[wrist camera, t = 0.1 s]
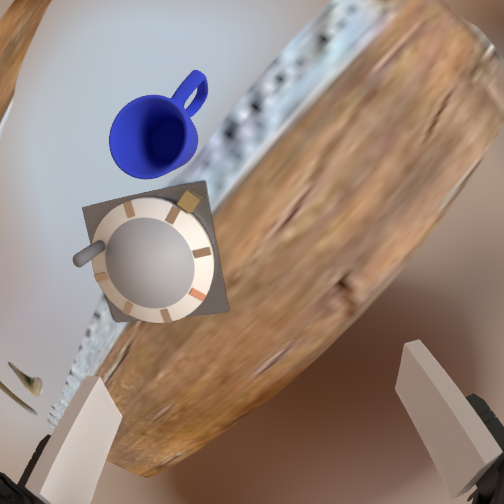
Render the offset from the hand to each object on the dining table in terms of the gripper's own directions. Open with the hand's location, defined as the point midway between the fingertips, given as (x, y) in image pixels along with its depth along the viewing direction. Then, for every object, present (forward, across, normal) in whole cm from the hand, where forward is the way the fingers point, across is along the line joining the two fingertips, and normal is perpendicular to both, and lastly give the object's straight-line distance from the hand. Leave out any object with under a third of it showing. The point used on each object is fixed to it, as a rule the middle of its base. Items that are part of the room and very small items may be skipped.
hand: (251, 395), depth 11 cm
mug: (+28, -6, +14) cm, 32 cm away
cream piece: (+28, -13, -2) cm, 31 cm away
